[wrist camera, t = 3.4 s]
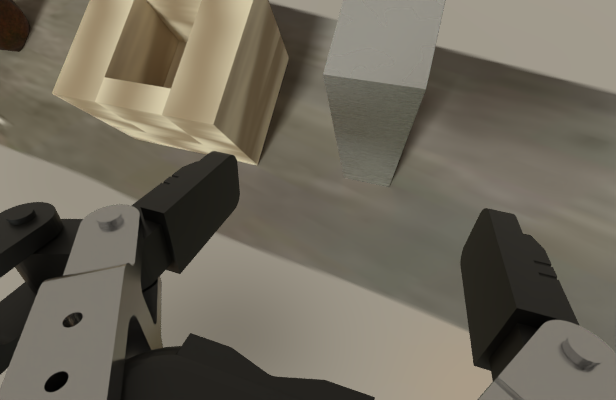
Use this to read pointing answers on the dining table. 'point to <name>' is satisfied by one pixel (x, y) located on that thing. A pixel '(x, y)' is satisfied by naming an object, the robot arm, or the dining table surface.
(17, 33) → the bolt
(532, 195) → the dining table surface
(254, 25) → the open beige box
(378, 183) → the tall grey square pillar
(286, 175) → the dining table surface
